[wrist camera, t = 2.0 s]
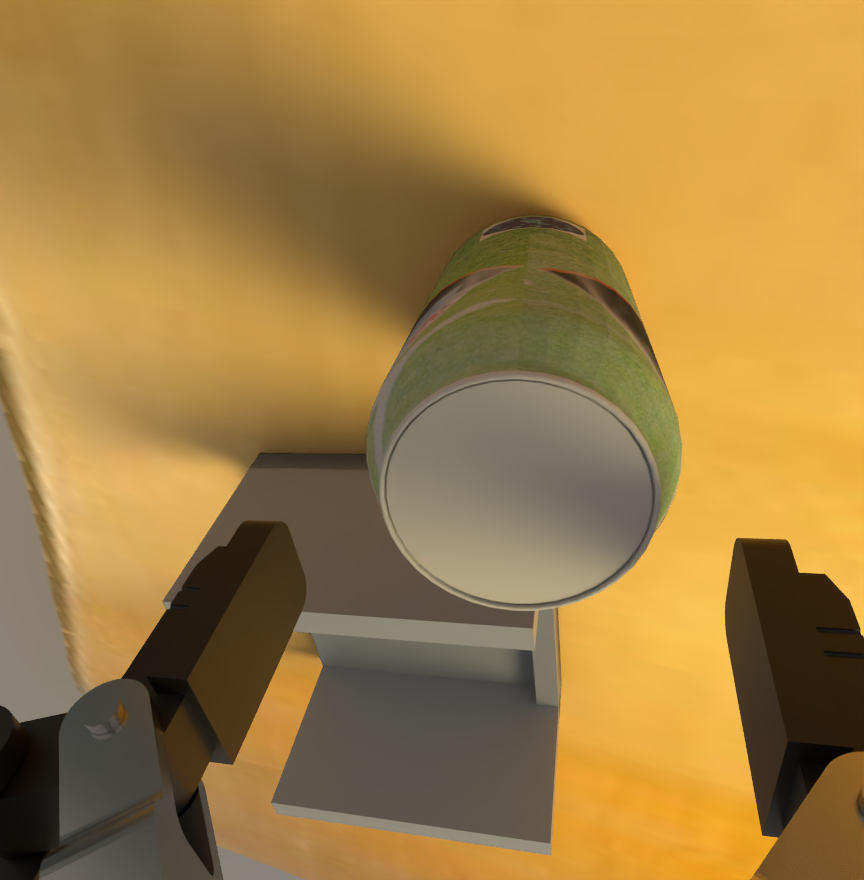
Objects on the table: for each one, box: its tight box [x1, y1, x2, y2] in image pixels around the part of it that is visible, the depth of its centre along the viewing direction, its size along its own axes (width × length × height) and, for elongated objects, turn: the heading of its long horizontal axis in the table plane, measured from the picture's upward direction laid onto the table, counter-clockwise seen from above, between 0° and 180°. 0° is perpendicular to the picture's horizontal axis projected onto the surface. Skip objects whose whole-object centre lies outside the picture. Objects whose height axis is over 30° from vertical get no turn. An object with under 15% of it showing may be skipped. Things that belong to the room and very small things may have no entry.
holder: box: [163, 453, 561, 855], centre depth 28 cm, size 14×12×8 cm
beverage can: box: [367, 215, 682, 611], centre depth 17 cm, size 6×7×12 cm
